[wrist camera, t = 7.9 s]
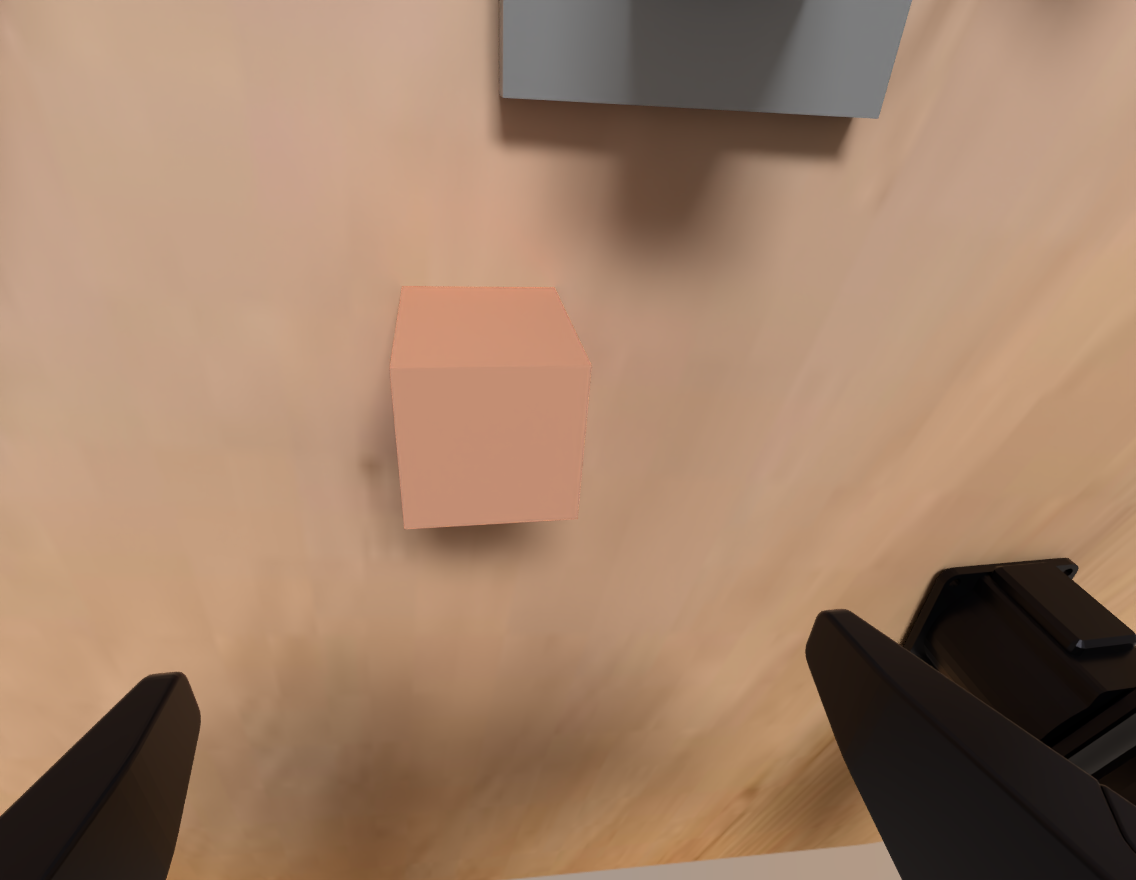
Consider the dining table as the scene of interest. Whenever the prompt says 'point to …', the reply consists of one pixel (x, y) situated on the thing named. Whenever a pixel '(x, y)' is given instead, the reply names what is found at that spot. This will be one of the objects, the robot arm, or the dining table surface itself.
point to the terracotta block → (488, 406)
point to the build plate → (703, 53)
